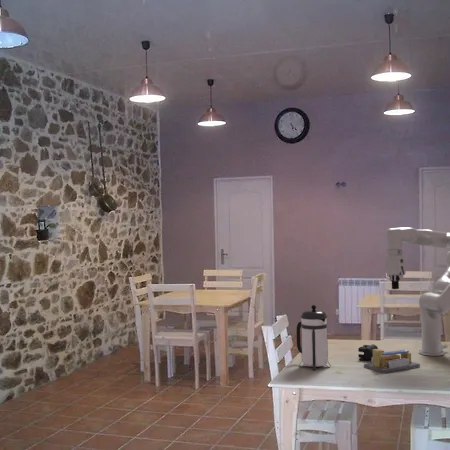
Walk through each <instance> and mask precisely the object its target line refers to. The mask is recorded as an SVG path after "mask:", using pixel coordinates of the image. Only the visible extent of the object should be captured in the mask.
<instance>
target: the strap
mask: <svg viewBox="0 0 450 450" xmlns="http://www.w3.org/2000/svg"><path fill="white" fill-rule="evenodd" d="M402 353H410V351H409V350H406V349H401V350H400V349H399V350H392V351H384V353H381V356H382V355H383V356H385V355H394V354H396V355H401V354H402Z"/></svg>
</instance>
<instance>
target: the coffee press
mask: <svg viewBox="0 0 450 450" xmlns="http://www.w3.org/2000/svg"><path fill="white" fill-rule="evenodd" d="M300 319H301V320H300V321H299V322H298V323H297V325H296V348H297V350H298V352H299V353H300V354H301V361H300V363H299V367H300V368H302V367H303V366H306V367H312V371H316V369H317V367H323V366H326V368H331V363H330V362H329V361H328V357H329V351H328V350H329V348H328V347H329V345H328V322H327V321H328V320H327V319H328V315H327V313H326V311H324V310H321V309H317V306H316V304H312V305H311V309H307V310H304V311H303V312H302V313H301V315H300ZM301 364H303V365H301ZM327 364H328V365H329V366H328V365H327Z"/></svg>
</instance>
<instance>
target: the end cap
mask: <svg viewBox="0 0 450 450" xmlns="http://www.w3.org/2000/svg"><path fill="white" fill-rule="evenodd" d="M373 349H379V348H378V345H376V344H370V345H369V344H364V345H362V346H359V347H358V358H359V359H358V360H359V361H361V362H363V361H365V362H368V361H370V360H372V357H373ZM359 352H360V353H361V354H360V353H359ZM362 353H363V354H362Z"/></svg>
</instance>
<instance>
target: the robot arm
mask: <svg viewBox="0 0 450 450" xmlns="http://www.w3.org/2000/svg"><path fill="white" fill-rule="evenodd" d="M404 243H405V244H411V245H412V244H413V245H419V246H425V247H430V248H431V247H432V248H439V249H448V250H449V251H447V254H446V257H445V258H446V270H445V271H444V273H442V274H441V276H440V277H439V278H438V280H437V281H435V283H434V285H433V289H432V290H433V292H424V293H422V294H421V295H420V297H419V298H418V304H419V305H418V306H419V310H420V319H421V321H420V322H421V349H419V350H418V354H420V355H423V356H430V357H431V356H432V357H437V356H443V355H445V351H444V349H448V345H447V344H442V332H441V331H442V329H441V327H442V325H441V324H442V322H441V316H440V314H446V313H447V312H450V232H447V231H440V230H439V231H438V230H434V229H433V230H432V229H416V228H415V227H406V226H405V227H403V226H402V227H400V226H399V227H391V228H390V227H389V228H387V229H386V258H385V274H386V277H388V278H389V279H390V282H391V289H392V290H399V288H400V283H399V282H400V280H401V279H404V277H405V275H406V271H407V270H406V261H405V256H404V255H403V253H404V251H403V244H404Z"/></svg>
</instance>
